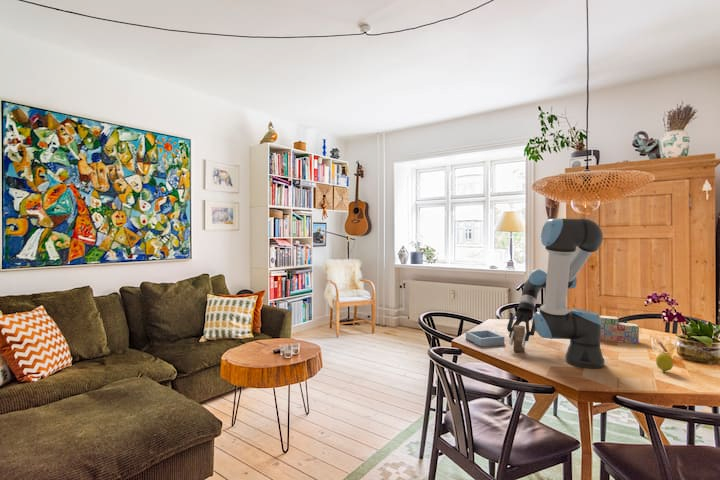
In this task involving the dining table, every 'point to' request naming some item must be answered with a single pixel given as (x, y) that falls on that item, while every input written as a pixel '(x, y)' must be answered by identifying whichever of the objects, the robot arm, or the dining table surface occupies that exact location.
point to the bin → (485, 338)
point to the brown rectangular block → (518, 338)
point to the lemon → (664, 362)
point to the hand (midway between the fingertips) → (516, 345)
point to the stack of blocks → (618, 330)
